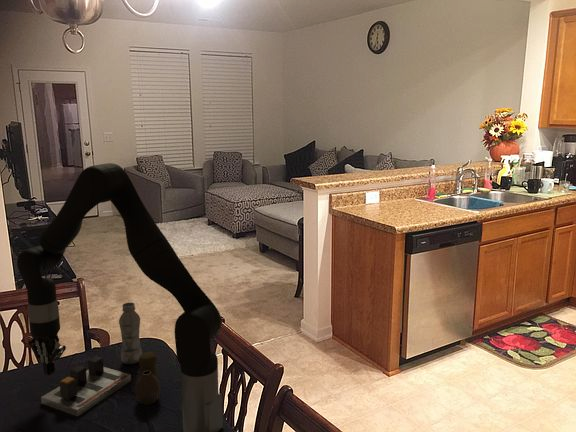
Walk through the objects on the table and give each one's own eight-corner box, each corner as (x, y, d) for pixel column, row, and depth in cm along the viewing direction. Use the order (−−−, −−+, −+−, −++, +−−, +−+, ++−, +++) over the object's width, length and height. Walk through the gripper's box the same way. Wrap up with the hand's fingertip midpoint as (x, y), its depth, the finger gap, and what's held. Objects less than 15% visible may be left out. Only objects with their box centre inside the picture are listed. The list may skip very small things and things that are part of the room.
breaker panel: (131, 380, 146) (129, 361, 145) (77, 416, 128) (75, 394, 127) (97, 370, 152) (95, 351, 151) (41, 403, 134) (39, 382, 133)
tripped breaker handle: (77, 394, 135) (75, 378, 134) (68, 399, 132) (67, 383, 131) (69, 391, 136) (68, 375, 135) (60, 397, 133) (59, 380, 132)
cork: (154, 395, 138) (152, 360, 136) (134, 393, 140) (132, 358, 137) (163, 384, 144) (161, 350, 142) (145, 382, 145) (143, 348, 143)
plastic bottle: (120, 359, 159) (116, 302, 155) (141, 355, 162) (137, 299, 158) (122, 368, 153) (118, 309, 149) (144, 364, 156) (140, 306, 152)
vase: (135, 409, 132) (133, 380, 130) (136, 395, 138) (134, 368, 136) (161, 405, 133) (159, 377, 132) (160, 392, 140) (159, 364, 138)
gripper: (72, 315, 133) (77, 372, 136) (39, 307, 138) (44, 362, 142) (49, 326, 126) (54, 385, 130) (15, 316, 132) (21, 374, 135)
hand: (49, 373), depth 136 cm, fingers closed
